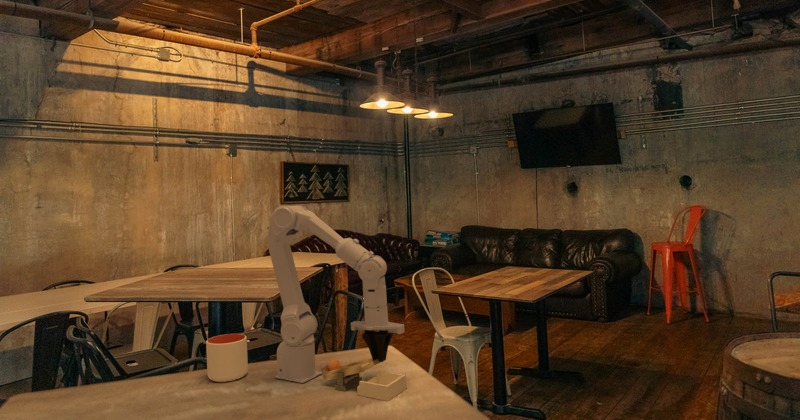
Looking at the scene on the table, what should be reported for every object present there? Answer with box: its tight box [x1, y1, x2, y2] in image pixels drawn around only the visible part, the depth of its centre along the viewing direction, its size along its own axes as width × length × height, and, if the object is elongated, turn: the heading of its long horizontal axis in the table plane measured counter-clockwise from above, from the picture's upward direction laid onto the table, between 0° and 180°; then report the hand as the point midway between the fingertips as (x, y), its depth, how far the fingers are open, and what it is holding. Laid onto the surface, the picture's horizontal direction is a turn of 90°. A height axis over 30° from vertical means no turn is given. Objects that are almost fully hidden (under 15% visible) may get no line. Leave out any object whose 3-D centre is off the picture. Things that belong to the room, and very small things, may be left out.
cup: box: [205, 333, 249, 383], centre depth 132 cm, size 10×10×10 cm
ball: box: [327, 359, 341, 371], centre depth 125 cm, size 3×3×3 cm
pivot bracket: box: [334, 372, 363, 392], centre depth 123 cm, size 3×7×4 cm, turn 150°
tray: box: [356, 370, 407, 402], centre depth 118 cm, size 8×8×3 cm
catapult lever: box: [320, 357, 381, 381], centre depth 125 cm, size 12×10×3 cm
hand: (379, 360), depth 125 cm, fingers closed, pressing on catapult lever
